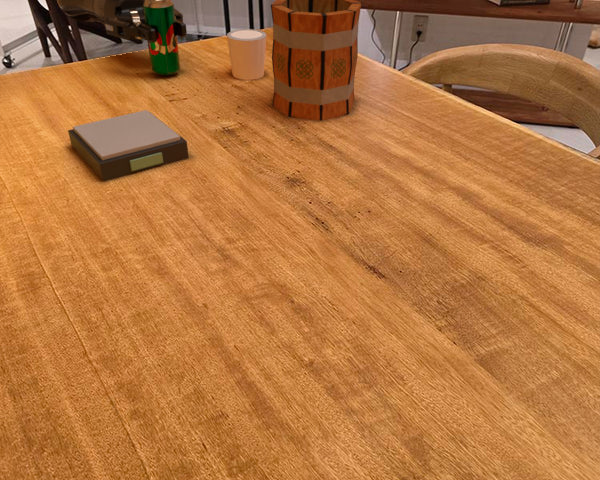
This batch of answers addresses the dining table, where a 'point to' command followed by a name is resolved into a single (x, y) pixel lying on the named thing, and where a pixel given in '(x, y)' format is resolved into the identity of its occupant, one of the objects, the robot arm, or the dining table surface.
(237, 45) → the white cup
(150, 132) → the scale
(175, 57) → the soda can
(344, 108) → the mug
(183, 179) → the dining table surface
